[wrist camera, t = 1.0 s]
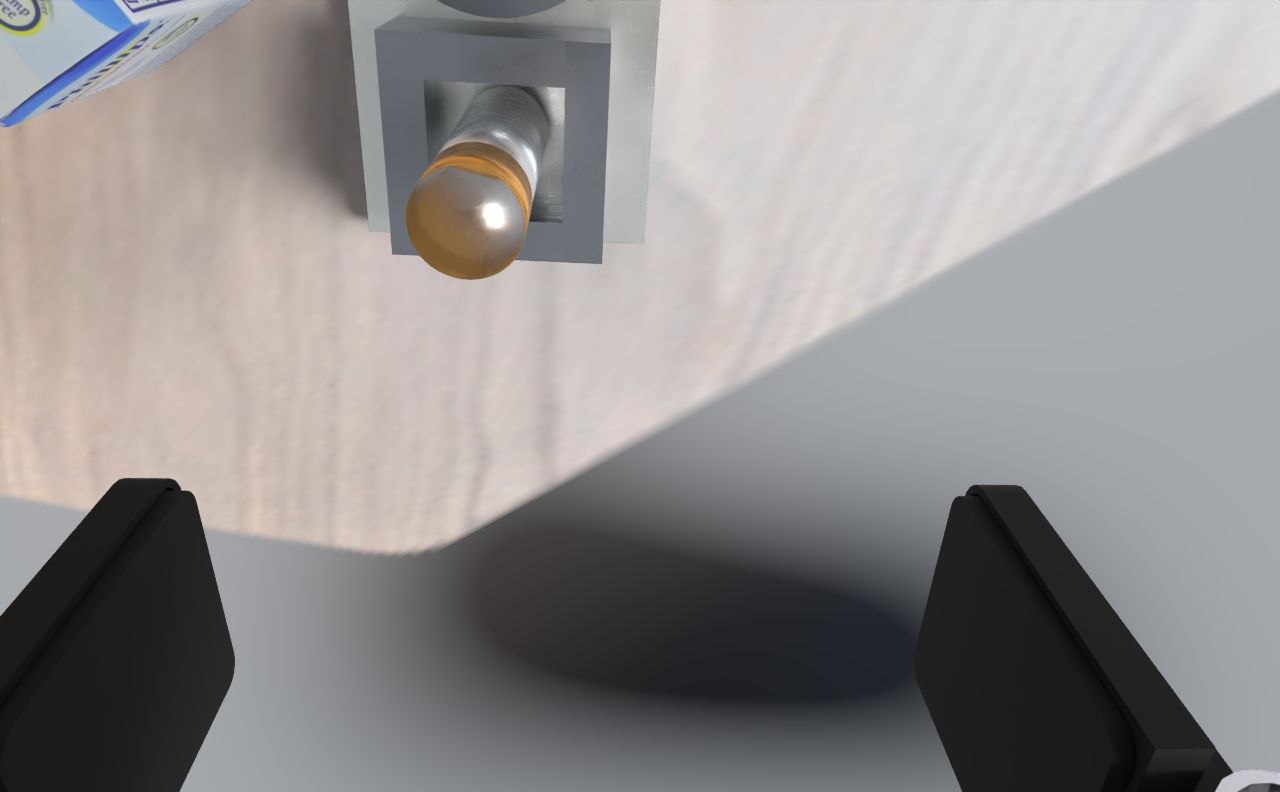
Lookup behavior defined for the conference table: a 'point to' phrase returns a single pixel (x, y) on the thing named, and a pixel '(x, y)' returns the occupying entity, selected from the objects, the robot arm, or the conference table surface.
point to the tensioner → (532, 62)
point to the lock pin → (480, 187)
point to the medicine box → (90, 46)
